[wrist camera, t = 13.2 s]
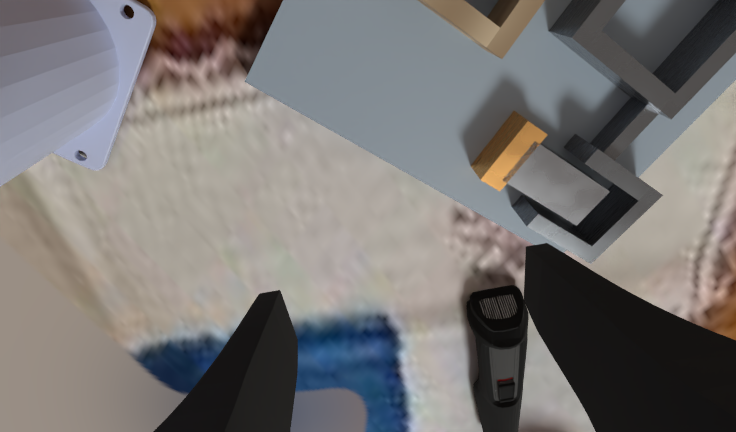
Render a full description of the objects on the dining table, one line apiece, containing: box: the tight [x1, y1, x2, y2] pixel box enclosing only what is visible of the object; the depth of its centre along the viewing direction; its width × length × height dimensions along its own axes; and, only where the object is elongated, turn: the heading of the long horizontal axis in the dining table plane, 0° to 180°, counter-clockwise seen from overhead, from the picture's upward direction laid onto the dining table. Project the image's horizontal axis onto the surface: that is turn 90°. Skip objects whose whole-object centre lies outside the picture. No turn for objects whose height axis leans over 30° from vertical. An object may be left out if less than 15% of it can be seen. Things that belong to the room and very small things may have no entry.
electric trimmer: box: [467, 286, 528, 432], centre depth 29 cm, size 4×15×3 cm, turn 9°
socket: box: [511, 0, 736, 264], centre depth 18 cm, size 9×13×2 cm
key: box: [471, 111, 610, 226], centre depth 20 cm, size 6×3×2 cm, turn 58°
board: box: [245, 0, 736, 253], centre depth 18 cm, size 19×16×1 cm
